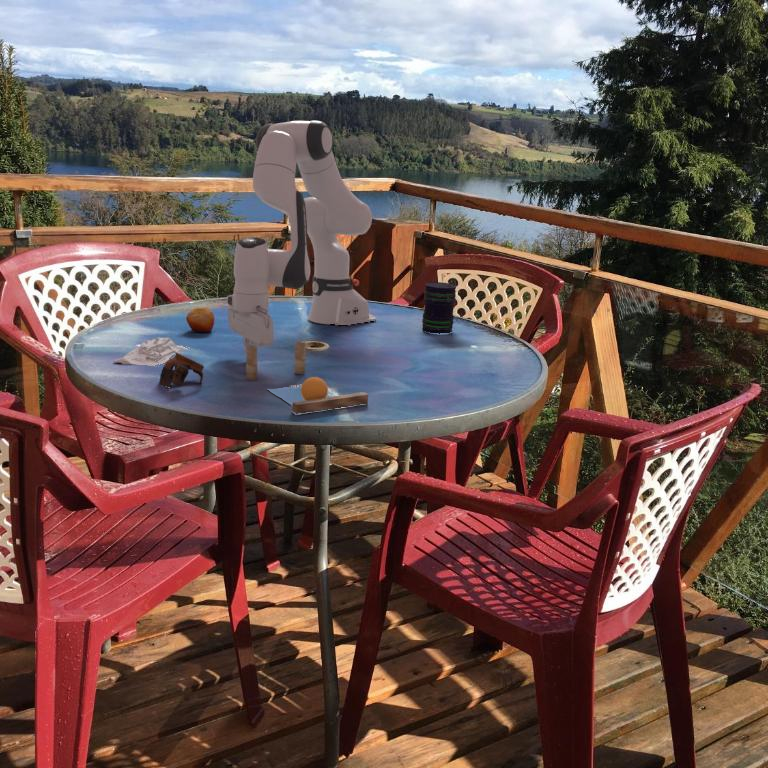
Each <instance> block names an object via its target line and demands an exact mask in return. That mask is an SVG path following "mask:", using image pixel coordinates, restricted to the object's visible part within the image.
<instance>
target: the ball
mask: <svg viewBox="0 0 768 768" xmlns="http://www.w3.org/2000/svg"><path fill="white" fill-rule="evenodd" d="M303 381H304V382H303V383H302V386H301V395H302V397H303V399H304V400H311V399H318V398H325V397H326V396H327V393H328V388H329V387H328V385H327V383H326V382H325V380H323V378H320V377H317V376H312V377H309V378H307V379H305V380H303ZM327 387H328V388H327Z"/></svg>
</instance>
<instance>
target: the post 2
mask: <svg viewBox="0 0 768 768" xmlns="http://www.w3.org/2000/svg"><path fill="white" fill-rule="evenodd" d="M306 344H307V342H306V341H304V340H303V341H302V340H298V341H295V342H294V372H293V373H294V375H297V374H303V375H305V374H304V373H306V352H307V351H306V349H307V348H306Z"/></svg>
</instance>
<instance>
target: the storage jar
mask: <svg viewBox="0 0 768 768" xmlns="http://www.w3.org/2000/svg"><path fill="white" fill-rule="evenodd" d="M456 289H457V285H456V284H452V283H449V282H437V281H431V282H426V283H425V286H424V297H423V302H424V306H423V307H424V308H423V313H422V322H421V323H422V324H421V325H422V328H421V331H422V330H423V331H426V332H430V333H439V334H440V333H450V332H452V333H453V326H454V320H455V319H454V317H455V316H454V308H455V307H454V306H455V304H456V298H457V297H456V295H457V294H456V292H457V291H456ZM423 331H422V332H423Z"/></svg>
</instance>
